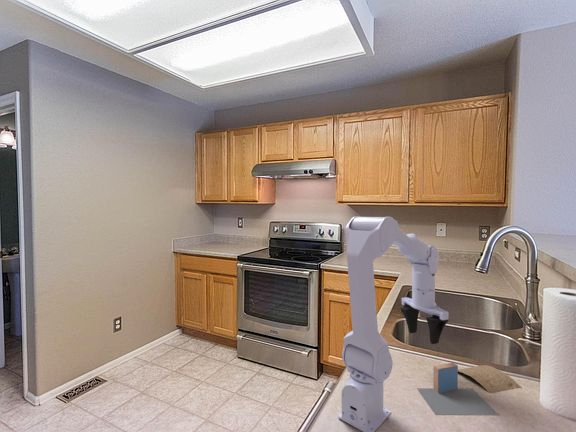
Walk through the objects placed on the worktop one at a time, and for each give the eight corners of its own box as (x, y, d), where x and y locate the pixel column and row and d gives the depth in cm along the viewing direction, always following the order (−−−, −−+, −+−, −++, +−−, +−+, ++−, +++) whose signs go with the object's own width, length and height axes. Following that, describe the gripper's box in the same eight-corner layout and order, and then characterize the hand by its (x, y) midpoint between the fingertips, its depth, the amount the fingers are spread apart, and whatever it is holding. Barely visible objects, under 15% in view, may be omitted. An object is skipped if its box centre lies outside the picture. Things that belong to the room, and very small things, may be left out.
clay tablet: (526, 393, 76) (526, 383, 76) (496, 402, 73) (496, 390, 73) (474, 366, 90) (474, 356, 90) (447, 372, 87) (447, 362, 87)
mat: (435, 416, 67) (435, 414, 67) (416, 389, 77) (416, 388, 77) (499, 416, 67) (499, 414, 67) (472, 390, 77) (472, 388, 77)
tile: (438, 393, 75) (438, 369, 75) (433, 389, 77) (433, 366, 77) (458, 389, 77) (458, 365, 77) (452, 385, 78) (452, 362, 78)
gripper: (457, 293, 79) (456, 345, 79) (414, 281, 92) (414, 326, 93) (436, 296, 76) (436, 350, 76) (396, 283, 90) (395, 329, 90)
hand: (423, 337), depth 84 cm, fingers open, 7 cm apart
